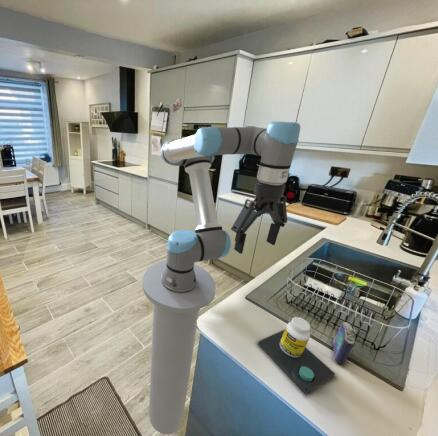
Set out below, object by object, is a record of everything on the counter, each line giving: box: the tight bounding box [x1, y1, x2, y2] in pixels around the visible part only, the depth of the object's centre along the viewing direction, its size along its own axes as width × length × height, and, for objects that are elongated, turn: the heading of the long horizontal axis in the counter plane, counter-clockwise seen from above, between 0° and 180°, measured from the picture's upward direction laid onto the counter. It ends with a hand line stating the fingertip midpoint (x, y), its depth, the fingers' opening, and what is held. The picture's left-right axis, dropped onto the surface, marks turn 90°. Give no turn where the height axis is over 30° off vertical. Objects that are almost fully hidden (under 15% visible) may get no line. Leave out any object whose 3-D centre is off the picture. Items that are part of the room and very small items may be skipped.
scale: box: [257, 329, 336, 395], centre depth 71 cm, size 16×13×3 cm
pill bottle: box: [280, 316, 311, 358], centre depth 71 cm, size 6×6×11 cm
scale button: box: [299, 366, 314, 382], centre depth 65 cm, size 3×3×2 cm
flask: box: [332, 321, 357, 366], centre depth 72 cm, size 9×3×11 cm, turn 148°
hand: (254, 247), depth 76 cm, fingers open, 13 cm apart
